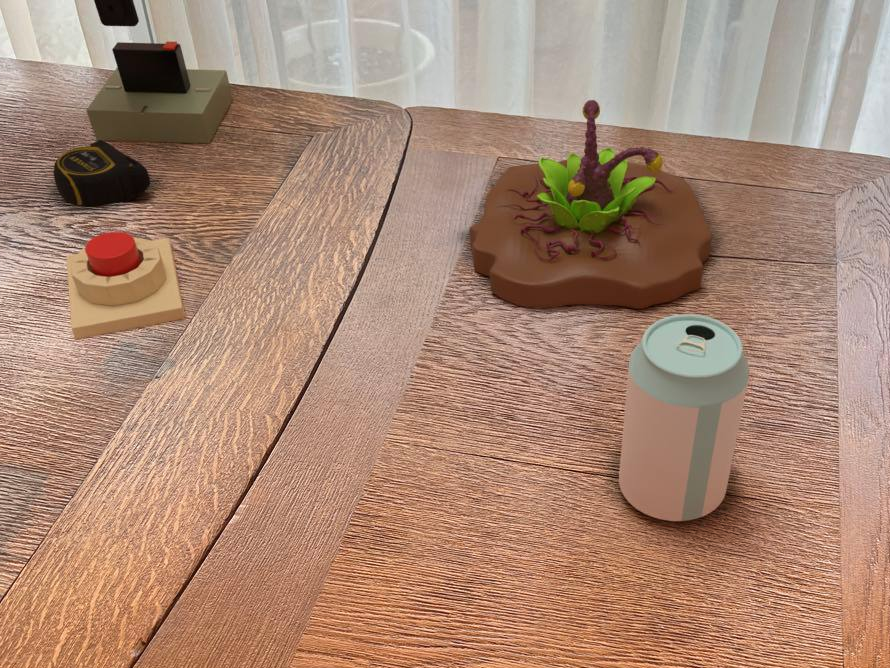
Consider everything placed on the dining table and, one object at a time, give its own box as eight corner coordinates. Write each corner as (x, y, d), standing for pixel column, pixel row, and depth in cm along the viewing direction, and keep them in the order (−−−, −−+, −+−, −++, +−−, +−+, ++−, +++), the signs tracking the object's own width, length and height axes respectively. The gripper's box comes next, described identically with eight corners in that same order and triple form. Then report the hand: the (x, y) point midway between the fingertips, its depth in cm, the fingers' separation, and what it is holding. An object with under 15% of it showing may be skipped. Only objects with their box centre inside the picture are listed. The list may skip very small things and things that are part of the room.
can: (606, 460, 70) (616, 314, 61) (704, 445, 71) (729, 299, 62) (635, 536, 65) (651, 391, 56) (740, 518, 66) (772, 372, 57)
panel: (93, 143, 98) (82, 111, 96) (127, 94, 105) (118, 62, 102) (208, 147, 98) (199, 114, 95) (234, 97, 104) (227, 65, 102)
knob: (124, 91, 98) (110, 46, 95) (129, 84, 100) (116, 39, 96) (186, 93, 98) (174, 48, 95) (191, 85, 99) (179, 40, 96)
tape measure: (159, 198, 92) (147, 159, 89) (89, 228, 88) (74, 188, 86) (118, 170, 95) (106, 131, 92) (49, 198, 91) (34, 159, 89)
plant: (699, 183, 94) (715, 58, 85) (717, 313, 81) (738, 181, 72) (480, 179, 94) (474, 54, 86) (462, 307, 81) (454, 176, 73)
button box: (75, 278, 83) (58, 235, 80) (175, 260, 85) (162, 217, 82) (81, 352, 77) (62, 308, 74) (189, 331, 79) (176, 287, 76)
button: (91, 256, 79) (83, 236, 78) (139, 247, 80) (132, 228, 79) (93, 282, 77) (86, 262, 76) (143, 273, 78) (136, 253, 76)
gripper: (63, -257, 86) (127, -37, 99) (-21, -197, 75) (63, 43, 88) (152, -257, 86) (204, -36, 99) (80, -197, 74) (150, 44, 87)
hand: (138, 1), depth 93 cm, fingers open, 9 cm apart
